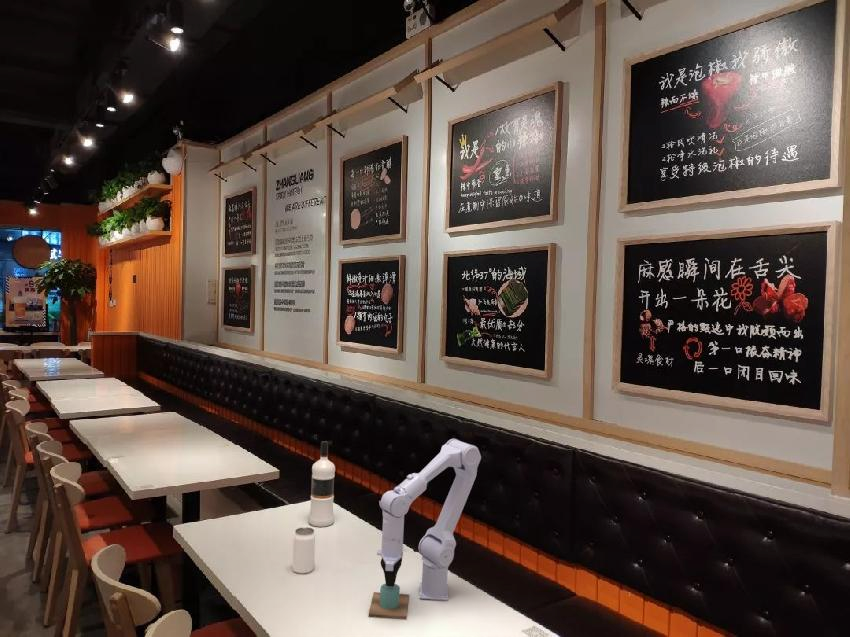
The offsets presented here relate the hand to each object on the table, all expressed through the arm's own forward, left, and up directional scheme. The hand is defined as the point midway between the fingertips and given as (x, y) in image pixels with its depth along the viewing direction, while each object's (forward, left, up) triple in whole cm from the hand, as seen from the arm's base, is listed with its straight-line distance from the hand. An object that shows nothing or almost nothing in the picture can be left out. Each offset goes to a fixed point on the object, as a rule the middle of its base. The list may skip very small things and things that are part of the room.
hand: (390, 585), depth 171 cm
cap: (0, 0, -5) cm, 5 cm away
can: (-19, -28, -6) cm, 34 cm away
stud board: (0, 0, -6) cm, 6 cm away
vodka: (-57, -30, -6) cm, 65 cm away
